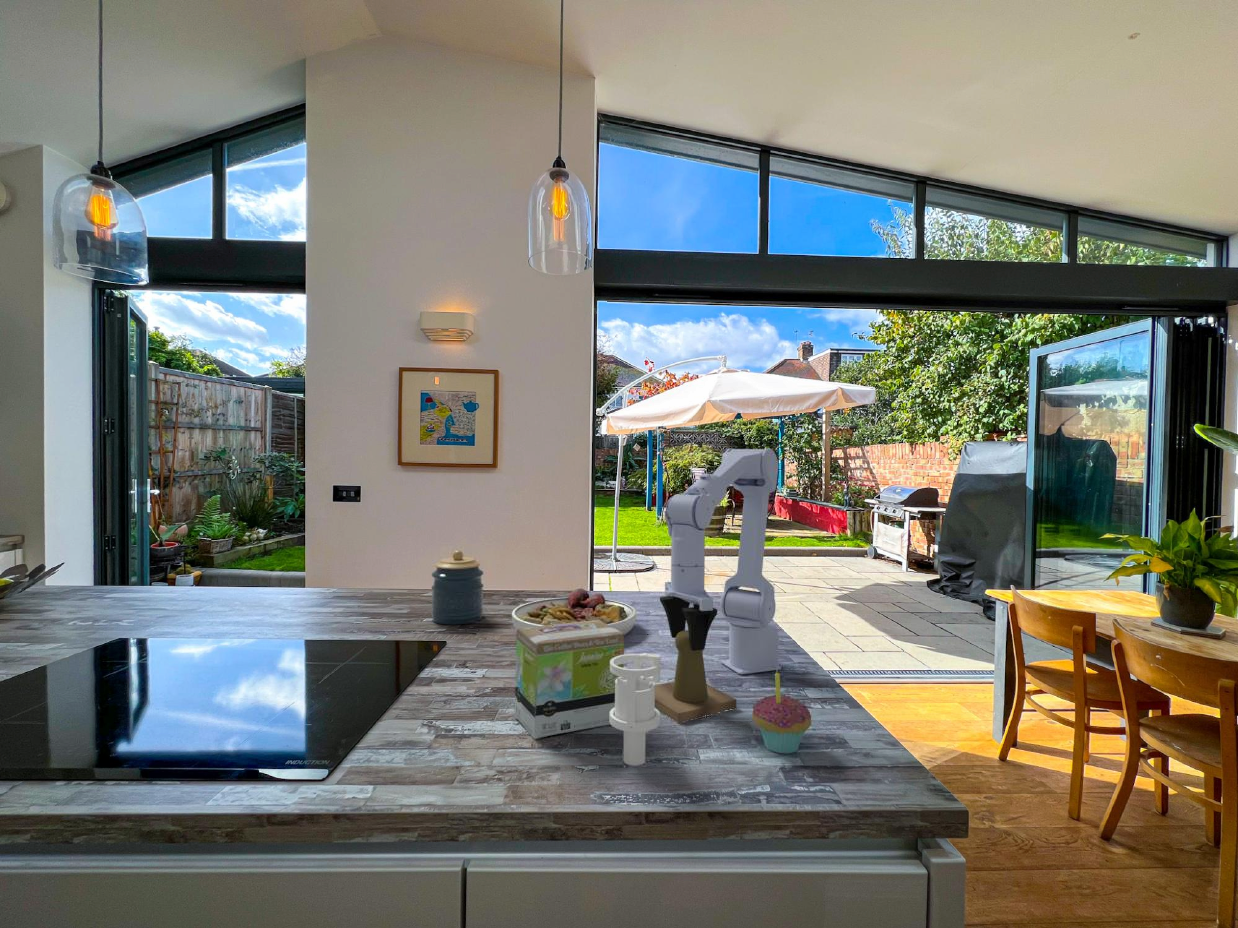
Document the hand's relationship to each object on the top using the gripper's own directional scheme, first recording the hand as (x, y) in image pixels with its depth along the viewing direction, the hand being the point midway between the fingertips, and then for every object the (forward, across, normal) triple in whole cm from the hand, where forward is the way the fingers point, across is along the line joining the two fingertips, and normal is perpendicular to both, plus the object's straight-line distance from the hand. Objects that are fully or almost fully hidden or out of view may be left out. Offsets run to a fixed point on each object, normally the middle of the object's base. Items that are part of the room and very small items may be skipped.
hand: (687, 643), depth 110 cm
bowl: (+11, -50, -5) cm, 52 cm away
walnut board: (+11, 0, 0) cm, 11 cm away
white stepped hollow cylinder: (+11, +16, -16) cm, 25 cm away
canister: (+11, -70, -31) cm, 77 cm away
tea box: (+11, 0, -21) cm, 24 cm away
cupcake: (+11, +19, +6) cm, 23 cm away
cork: (+9, +1, 0) cm, 9 cm away
